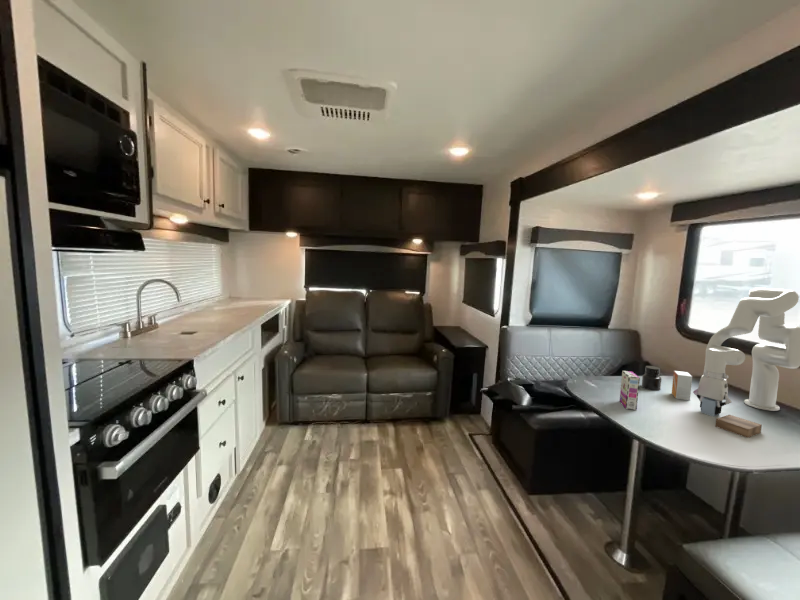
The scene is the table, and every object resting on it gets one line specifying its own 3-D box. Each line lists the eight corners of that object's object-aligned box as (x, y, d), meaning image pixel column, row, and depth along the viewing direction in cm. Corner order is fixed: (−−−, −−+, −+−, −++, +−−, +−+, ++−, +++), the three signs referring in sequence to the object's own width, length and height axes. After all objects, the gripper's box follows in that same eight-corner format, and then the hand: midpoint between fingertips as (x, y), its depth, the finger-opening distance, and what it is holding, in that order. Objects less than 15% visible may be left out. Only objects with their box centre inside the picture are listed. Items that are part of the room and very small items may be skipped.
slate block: (706, 410, 175) (707, 396, 175) (719, 414, 171) (720, 400, 170) (700, 412, 173) (702, 398, 172) (713, 416, 169) (714, 402, 168)
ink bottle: (665, 390, 203) (667, 369, 201) (652, 391, 201) (654, 370, 199) (649, 384, 212) (651, 364, 211) (637, 385, 210) (638, 365, 209)
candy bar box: (637, 410, 174) (640, 377, 172) (625, 409, 176) (628, 376, 174) (630, 402, 185) (632, 371, 183) (619, 401, 186) (621, 370, 185)
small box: (671, 393, 198) (673, 370, 196) (685, 395, 195) (687, 372, 194) (675, 398, 191) (677, 374, 189) (690, 400, 188) (692, 376, 187)
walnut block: (728, 423, 163) (729, 414, 163) (760, 433, 153) (761, 424, 153) (715, 427, 158) (716, 418, 158) (747, 438, 148) (748, 429, 148)
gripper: (741, 379, 164) (736, 417, 166) (697, 368, 179) (693, 404, 181) (732, 381, 161) (728, 420, 163) (688, 370, 176) (685, 406, 178)
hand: (710, 411), depth 172 cm, fingers closed on slate block, 5 cm apart
